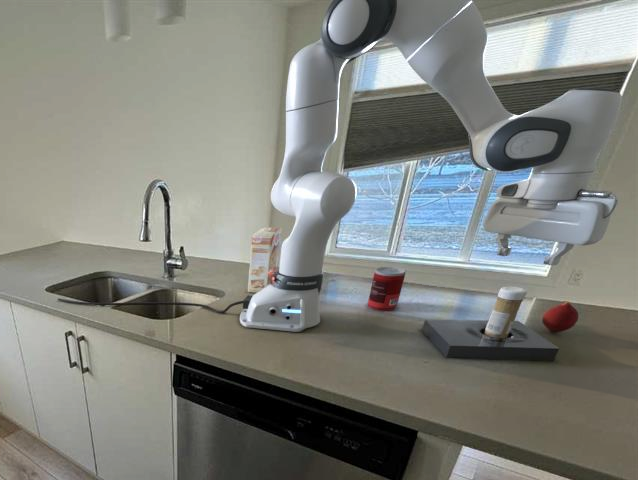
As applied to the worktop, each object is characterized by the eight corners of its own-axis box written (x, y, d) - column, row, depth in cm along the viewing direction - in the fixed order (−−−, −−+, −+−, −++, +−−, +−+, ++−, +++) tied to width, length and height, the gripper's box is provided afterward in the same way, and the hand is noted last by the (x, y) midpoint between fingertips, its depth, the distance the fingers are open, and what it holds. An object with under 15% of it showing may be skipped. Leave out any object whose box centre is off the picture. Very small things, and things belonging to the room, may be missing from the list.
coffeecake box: (267, 294, 140) (272, 235, 130) (246, 292, 144) (250, 235, 134) (277, 282, 151) (282, 227, 141) (257, 280, 154) (262, 227, 145)
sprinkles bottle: (509, 347, 94) (533, 291, 88) (490, 348, 94) (513, 293, 88) (493, 339, 98) (514, 285, 92) (474, 341, 98) (495, 287, 91)
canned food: (397, 303, 123) (406, 267, 117) (395, 312, 117) (405, 274, 112) (368, 301, 127) (376, 265, 121) (365, 309, 121) (374, 272, 116)
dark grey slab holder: (446, 357, 93) (450, 345, 91) (421, 330, 106) (424, 319, 104) (553, 361, 87) (559, 348, 86) (513, 331, 101) (518, 320, 99)
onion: (564, 329, 100) (579, 298, 96) (574, 338, 95) (591, 306, 91) (533, 327, 102) (547, 296, 98) (542, 336, 97) (556, 304, 93)
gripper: (636, 189, 71) (596, 268, 78) (513, 184, 88) (490, 249, 95) (608, 193, 70) (570, 273, 77) (490, 187, 87) (468, 252, 94)
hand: (525, 259), depth 86 cm, fingers open, 8 cm apart
